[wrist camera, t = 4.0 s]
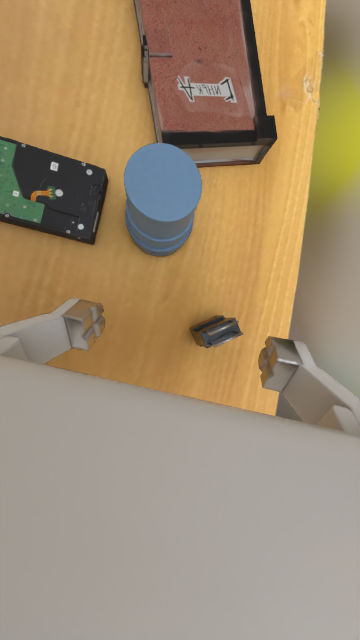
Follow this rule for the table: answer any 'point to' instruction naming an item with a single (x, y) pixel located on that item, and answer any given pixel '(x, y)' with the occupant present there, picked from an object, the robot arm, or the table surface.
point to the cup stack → (161, 197)
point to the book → (205, 79)
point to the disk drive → (50, 191)
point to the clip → (215, 331)
